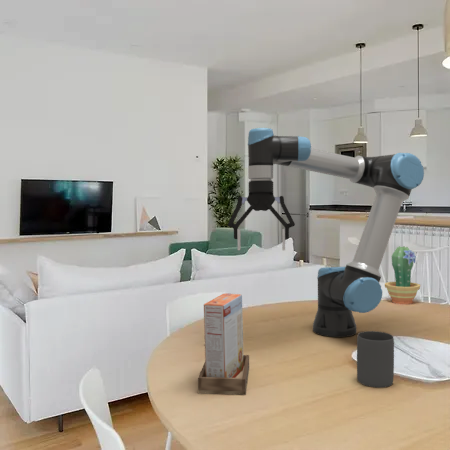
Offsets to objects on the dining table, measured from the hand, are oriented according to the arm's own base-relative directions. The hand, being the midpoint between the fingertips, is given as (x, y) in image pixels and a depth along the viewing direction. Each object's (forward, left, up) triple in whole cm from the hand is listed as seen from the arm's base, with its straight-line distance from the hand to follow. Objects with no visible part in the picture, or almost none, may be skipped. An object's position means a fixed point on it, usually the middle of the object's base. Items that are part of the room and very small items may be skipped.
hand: (261, 250), depth 152 cm
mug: (-30, +20, -32) cm, 48 cm away
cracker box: (+9, +24, -31) cm, 40 cm away
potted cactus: (-61, -76, -32) cm, 103 cm away
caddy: (+9, +24, -32) cm, 41 cm away
